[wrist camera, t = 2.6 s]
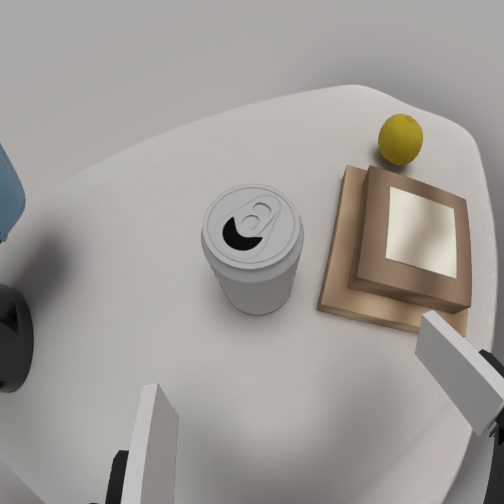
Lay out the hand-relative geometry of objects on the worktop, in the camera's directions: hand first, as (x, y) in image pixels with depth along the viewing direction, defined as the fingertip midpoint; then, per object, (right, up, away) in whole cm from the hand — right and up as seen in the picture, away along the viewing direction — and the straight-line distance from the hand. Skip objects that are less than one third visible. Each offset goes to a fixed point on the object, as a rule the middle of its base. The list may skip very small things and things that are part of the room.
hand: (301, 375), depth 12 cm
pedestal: (+14, +5, +15) cm, 21 cm away
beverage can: (-2, +3, +15) cm, 16 cm away
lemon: (+16, +18, +21) cm, 32 cm away
